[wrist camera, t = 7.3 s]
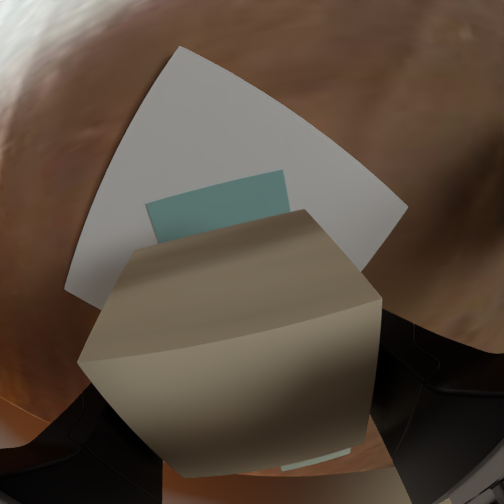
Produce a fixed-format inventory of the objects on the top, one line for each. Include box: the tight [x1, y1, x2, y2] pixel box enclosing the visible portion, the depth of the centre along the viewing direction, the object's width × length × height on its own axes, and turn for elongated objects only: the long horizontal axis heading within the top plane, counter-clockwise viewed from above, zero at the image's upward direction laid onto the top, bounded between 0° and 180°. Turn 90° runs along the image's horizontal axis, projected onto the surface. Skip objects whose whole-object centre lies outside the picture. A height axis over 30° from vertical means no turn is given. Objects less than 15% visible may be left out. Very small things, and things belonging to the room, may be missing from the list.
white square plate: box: [64, 46, 408, 310], centre depth 15 cm, size 14×14×1 cm
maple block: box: [77, 209, 382, 478], centre depth 8 cm, size 6×6×5 cm
